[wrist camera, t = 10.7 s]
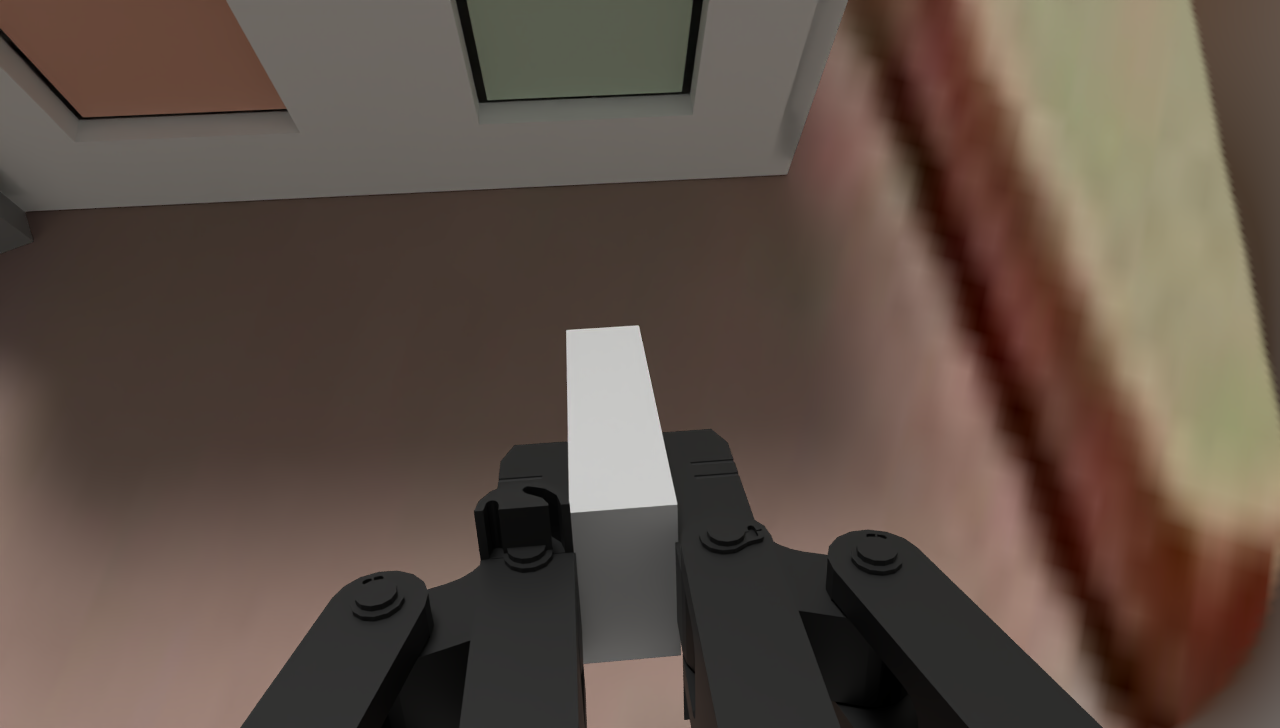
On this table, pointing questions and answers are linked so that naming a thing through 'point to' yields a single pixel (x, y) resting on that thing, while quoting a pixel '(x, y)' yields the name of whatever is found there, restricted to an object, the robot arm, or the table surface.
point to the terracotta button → (141, 55)
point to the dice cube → (13, 226)
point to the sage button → (580, 46)
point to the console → (420, 113)
